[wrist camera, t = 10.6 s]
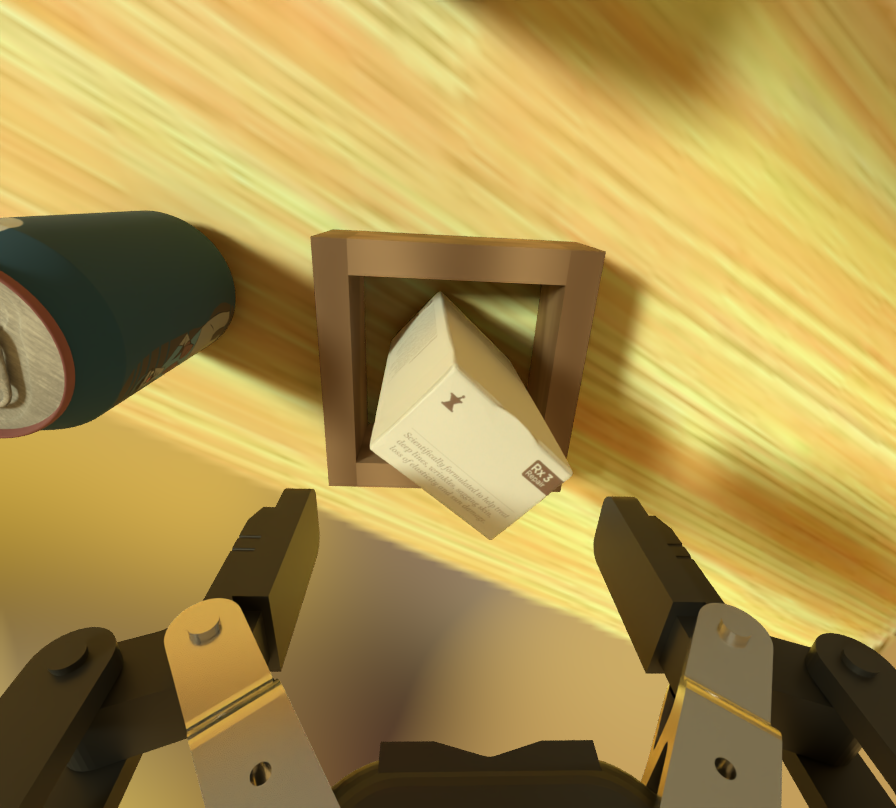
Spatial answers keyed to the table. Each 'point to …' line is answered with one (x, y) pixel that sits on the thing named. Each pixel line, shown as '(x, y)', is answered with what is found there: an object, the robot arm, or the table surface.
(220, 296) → the soda can
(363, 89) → the table surface
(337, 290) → the brown wooden square frame
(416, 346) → the skincare box
